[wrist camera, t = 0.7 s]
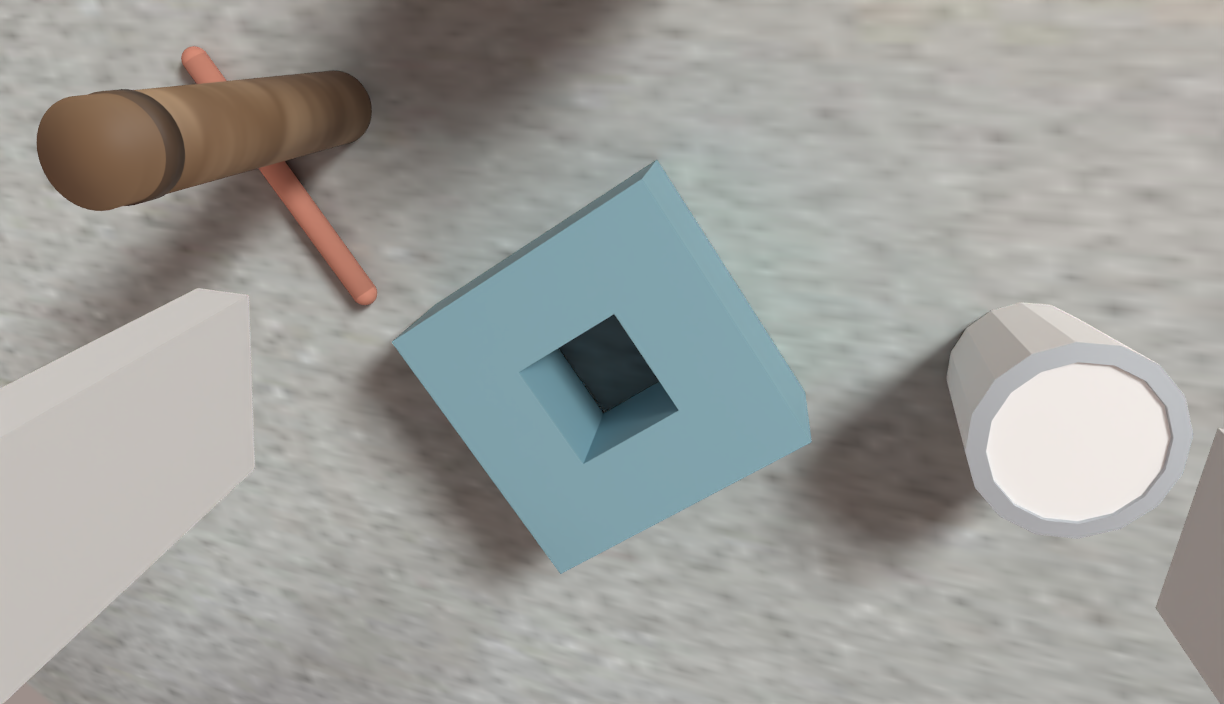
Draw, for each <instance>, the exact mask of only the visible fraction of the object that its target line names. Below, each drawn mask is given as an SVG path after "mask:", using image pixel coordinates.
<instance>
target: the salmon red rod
mask: <svg viewBox="0 0 1224 704" xmlns="http://www.w3.org/2000/svg"><path fill="white" fill-rule="evenodd" d="M181 59H182V64H183V65H184V67H185V68H186V70H187V71H188V73H189V74H190V75H191V77H192V78H193V79H194V81H195V82H196V83H197V84H202V83H213V82H223V81H226V79H225V78H224V77H223V75H222V74H221V72H220V71H219V70H218V68H217V67H216V65H215V64H214V63H213V61H212V60H211V59H210V57H209V56H208V54H207V53H206V52H205V51H204V50H203V49H201V48H199V47H194V46H193V47H189V48H187V49H185V50H184V52H183V53H182V58H181ZM259 170H260V171H261V173H262V174H263V175H264V177H265V178H266V179H267V181H268V182H269V184H270V185H271V186H272V188H273V189H274V190H275V192H276V193H277V194H278V196H279V197H280V199H281V200H282V201H283V203H284V204H285V205H286V207H287V208H288V210H289V211H290V212H291V214H292V215H293V216H294V218H295V219H296V220H297V222H298V223H299V225H300V226H301V227H302V229H303V230H304V231H305V233H306V234H307V236H308V237H309V238H310V240H311V241H312V242H313V244H314V245H315V247H316V248H317V249H318V251H319V252H320V253H321V255H322V256H323V257H324V259H325V260H326V262H327V263H328V264H329V266H330V267H331V268H332V270H333V271H334V273H335V274H336V275H337V277H338V278H339V279H340V281H341V282H342V284H343V285H344V286H345V288H346V289H347V290H348V292H349V293H350V294H351V296H352V297H353V299H354V300H355V301H356V302H357V303H359V304H361V305H369V304H371V303H373V302H374V301H375V299H376V297H377V289H376V287H375V286H374V284H373V283H372V281H371V280H370V279H369V277H368V276H367V274H366V273H365V272H364V270H363V269H362V268H361V266H360V265H359V263H358V262H357V261H356V259H355V258H354V256H353V255H352V254H351V252H350V251H349V250H348V248H347V247H346V245H345V244H344V243H343V241H342V240H341V238H340V237H339V236H338V234H337V233H336V232H335V230H334V229H333V227H332V226H331V225H330V223H329V222H328V220H327V219H326V218H325V216H324V215H323V214H322V212H321V211H320V209H319V208H318V207H317V205H316V204H315V202H314V201H313V200H312V198H311V197H310V196H309V194H308V193H307V191H306V190H305V189H304V187H303V186H302V185H301V183H300V182H299V180H298V179H297V178H296V176H295V175H294V173H293V172H292V171H291V169H290V168H289V167H288V165H287V164H286V162H285V161H283V162H279V163H275V164H272V165H268V166H265V167H261V168H259Z"/></svg>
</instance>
